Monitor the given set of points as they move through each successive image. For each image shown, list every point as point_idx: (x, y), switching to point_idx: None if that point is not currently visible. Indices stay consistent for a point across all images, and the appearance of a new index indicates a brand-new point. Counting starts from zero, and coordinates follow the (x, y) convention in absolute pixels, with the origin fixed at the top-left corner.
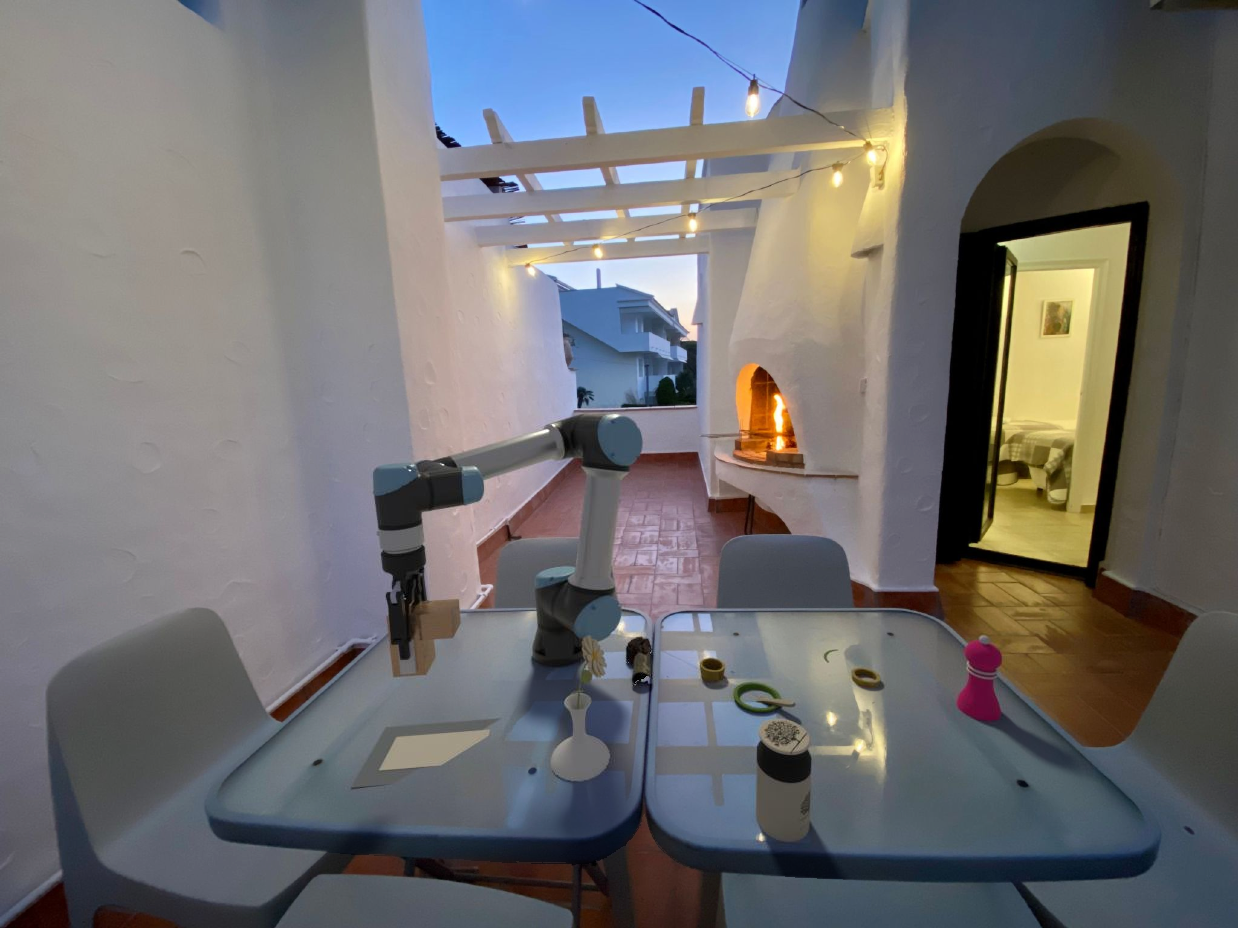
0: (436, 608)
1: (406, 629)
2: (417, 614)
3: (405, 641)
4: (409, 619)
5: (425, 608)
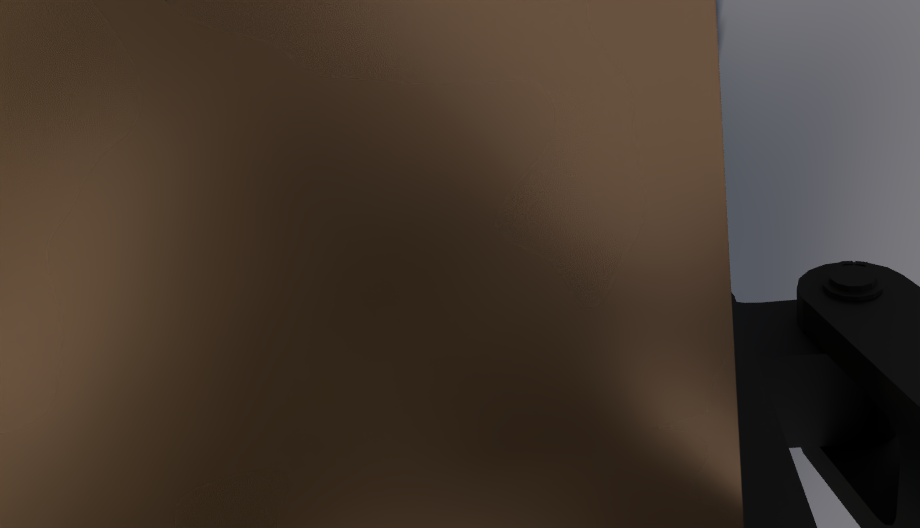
0: (298, 158)
1: (904, 385)
2: (715, 467)
3: (879, 278)
4: (774, 513)
5: (348, 487)
